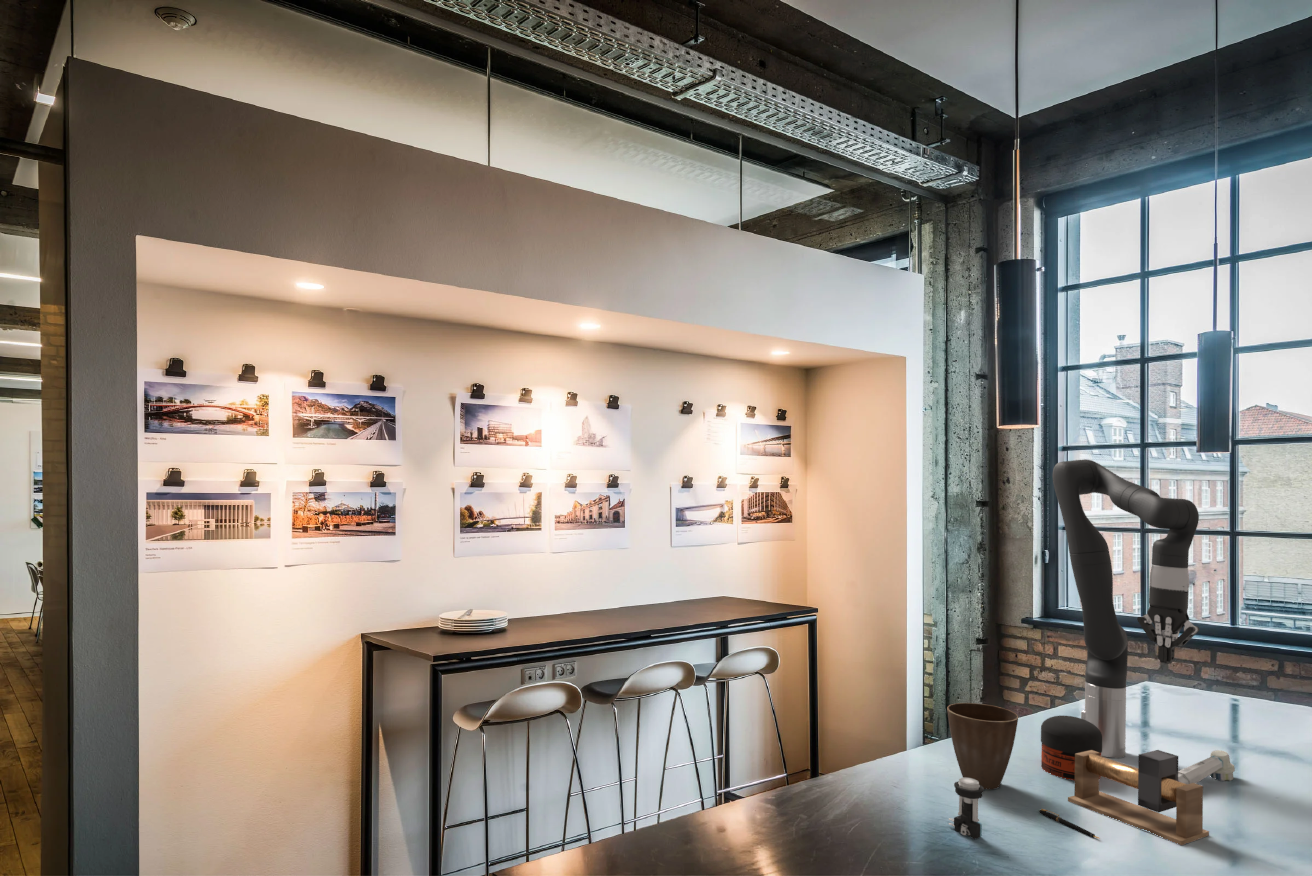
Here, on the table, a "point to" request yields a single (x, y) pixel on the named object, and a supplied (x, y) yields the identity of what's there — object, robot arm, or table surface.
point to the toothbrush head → (1208, 769)
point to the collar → (1155, 779)
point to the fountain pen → (1066, 823)
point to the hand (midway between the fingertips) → (1166, 663)
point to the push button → (968, 807)
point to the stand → (1175, 830)
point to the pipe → (1127, 775)
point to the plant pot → (982, 740)
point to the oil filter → (1067, 743)
